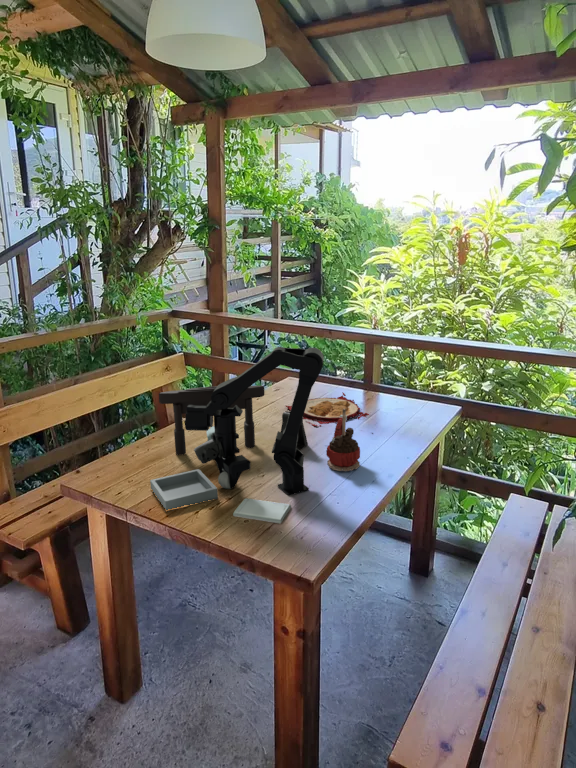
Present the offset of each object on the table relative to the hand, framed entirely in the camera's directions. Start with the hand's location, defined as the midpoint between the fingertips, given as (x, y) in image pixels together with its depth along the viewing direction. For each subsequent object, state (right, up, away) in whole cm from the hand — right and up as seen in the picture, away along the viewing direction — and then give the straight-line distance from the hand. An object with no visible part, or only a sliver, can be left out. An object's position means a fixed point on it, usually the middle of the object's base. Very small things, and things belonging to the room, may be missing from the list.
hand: (227, 483), depth 151 cm
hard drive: (+10, -5, -13) cm, 17 cm away
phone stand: (+18, +7, +26) cm, 33 cm away
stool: (-7, +6, +26) cm, 28 cm away
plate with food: (+33, +16, +61) cm, 71 cm away
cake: (+33, +3, +12) cm, 35 cm away
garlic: (0, -1, 0) cm, 1 cm away
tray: (-11, -2, -4) cm, 12 cm away
